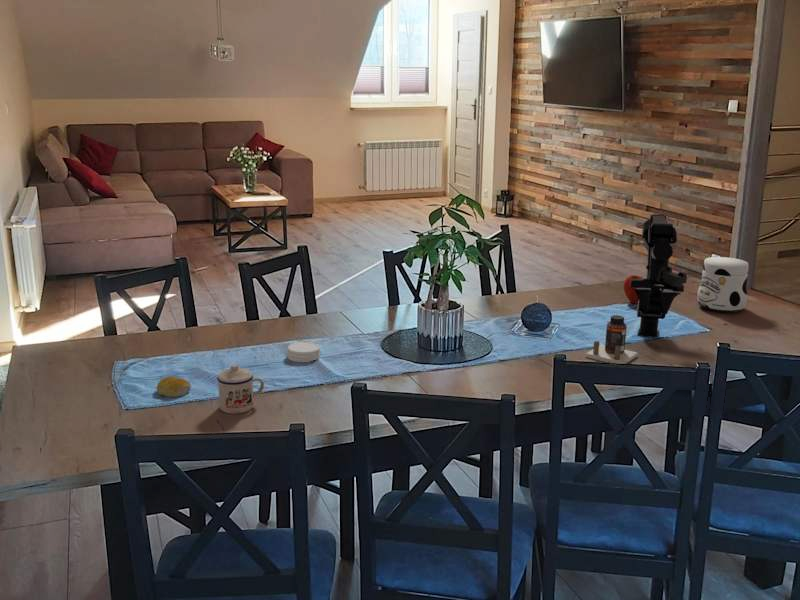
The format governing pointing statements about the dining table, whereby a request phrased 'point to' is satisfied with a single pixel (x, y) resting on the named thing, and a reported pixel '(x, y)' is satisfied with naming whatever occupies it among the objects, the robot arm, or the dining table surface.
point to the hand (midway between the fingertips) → (655, 313)
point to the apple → (631, 289)
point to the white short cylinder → (303, 352)
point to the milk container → (723, 284)
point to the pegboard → (604, 356)
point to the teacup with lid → (237, 390)
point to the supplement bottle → (615, 334)
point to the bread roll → (173, 387)
